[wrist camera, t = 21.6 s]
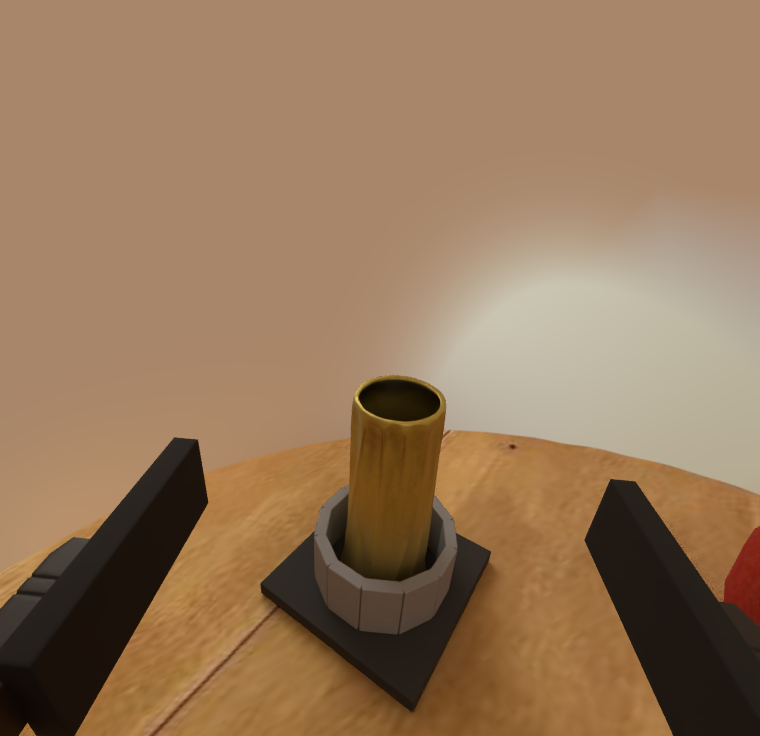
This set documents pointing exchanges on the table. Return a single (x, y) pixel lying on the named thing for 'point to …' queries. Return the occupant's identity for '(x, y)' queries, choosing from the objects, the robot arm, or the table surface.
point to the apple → (746, 579)
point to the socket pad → (377, 650)
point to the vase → (392, 476)
